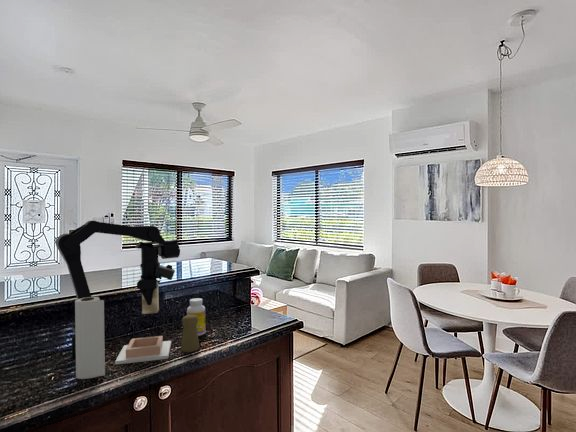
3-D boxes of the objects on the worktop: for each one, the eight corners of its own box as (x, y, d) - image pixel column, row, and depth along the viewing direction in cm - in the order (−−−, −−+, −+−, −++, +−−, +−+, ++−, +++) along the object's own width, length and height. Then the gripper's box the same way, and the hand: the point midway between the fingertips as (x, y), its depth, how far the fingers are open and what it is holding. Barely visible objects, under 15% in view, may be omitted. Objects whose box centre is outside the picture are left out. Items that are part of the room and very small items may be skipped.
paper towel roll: (73, 374, 96) (72, 298, 96) (97, 367, 100) (96, 295, 100) (80, 383, 91) (79, 303, 91) (105, 375, 95) (103, 299, 95)
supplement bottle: (206, 335, 126) (206, 300, 126) (188, 338, 124) (187, 302, 124) (204, 329, 132) (203, 296, 132) (186, 332, 130) (186, 298, 130)
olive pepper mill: (194, 352, 110) (194, 318, 110) (177, 351, 112) (176, 317, 112) (202, 345, 116) (202, 313, 116) (186, 344, 118) (186, 312, 117)
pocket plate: (115, 364, 102) (115, 352, 102) (124, 348, 115) (124, 337, 115) (168, 358, 106) (168, 347, 106) (171, 343, 119) (171, 333, 119)
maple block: (142, 314, 121) (141, 285, 121) (144, 310, 126) (143, 283, 126) (157, 312, 122) (156, 284, 122) (158, 309, 127) (158, 282, 127)
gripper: (171, 262, 117) (172, 308, 117) (174, 256, 135) (175, 295, 135) (136, 264, 114) (137, 310, 114) (144, 257, 132) (145, 297, 132)
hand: (150, 303), depth 124 cm, fingers closed on maple block, 5 cm apart
